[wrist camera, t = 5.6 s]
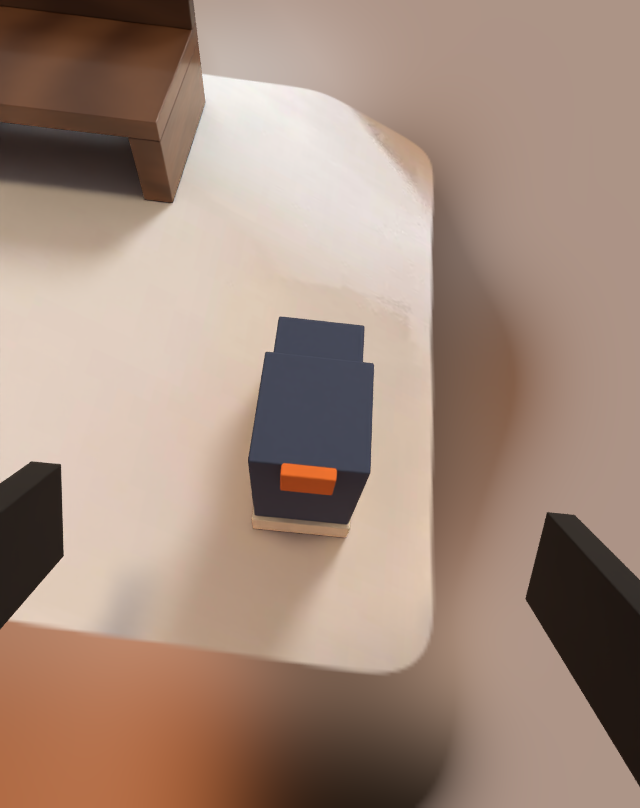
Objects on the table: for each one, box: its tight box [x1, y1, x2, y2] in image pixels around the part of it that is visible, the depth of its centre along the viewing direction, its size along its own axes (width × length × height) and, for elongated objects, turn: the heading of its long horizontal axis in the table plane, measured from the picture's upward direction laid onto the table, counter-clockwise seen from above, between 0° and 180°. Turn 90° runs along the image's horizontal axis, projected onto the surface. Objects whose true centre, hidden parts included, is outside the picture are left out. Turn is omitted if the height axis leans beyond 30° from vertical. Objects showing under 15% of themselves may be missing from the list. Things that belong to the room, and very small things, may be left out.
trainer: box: [248, 317, 374, 537], centre depth 24 cm, size 10×5×8 cm, turn 175°
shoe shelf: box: [0, 0, 205, 202], centre depth 35 cm, size 20×12×9 cm, turn 85°
